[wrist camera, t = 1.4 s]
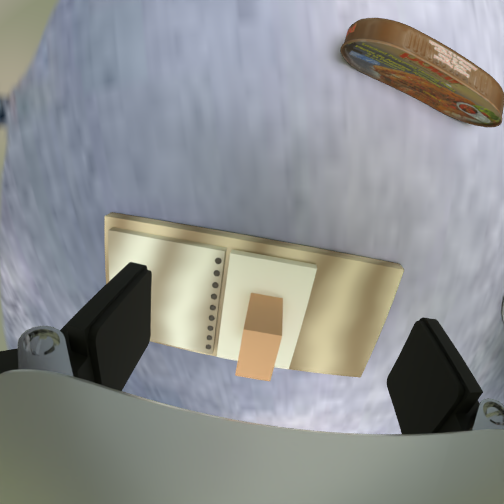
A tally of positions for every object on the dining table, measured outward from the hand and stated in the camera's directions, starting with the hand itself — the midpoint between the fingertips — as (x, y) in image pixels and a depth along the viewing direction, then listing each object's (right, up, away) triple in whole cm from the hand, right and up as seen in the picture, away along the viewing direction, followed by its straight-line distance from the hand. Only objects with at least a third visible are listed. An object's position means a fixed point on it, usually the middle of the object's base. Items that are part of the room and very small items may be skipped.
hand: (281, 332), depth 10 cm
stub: (0, -3, +21) cm, 21 cm away
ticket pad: (-2, -2, +23) cm, 23 cm away
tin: (+14, +19, +14) cm, 27 cm away
